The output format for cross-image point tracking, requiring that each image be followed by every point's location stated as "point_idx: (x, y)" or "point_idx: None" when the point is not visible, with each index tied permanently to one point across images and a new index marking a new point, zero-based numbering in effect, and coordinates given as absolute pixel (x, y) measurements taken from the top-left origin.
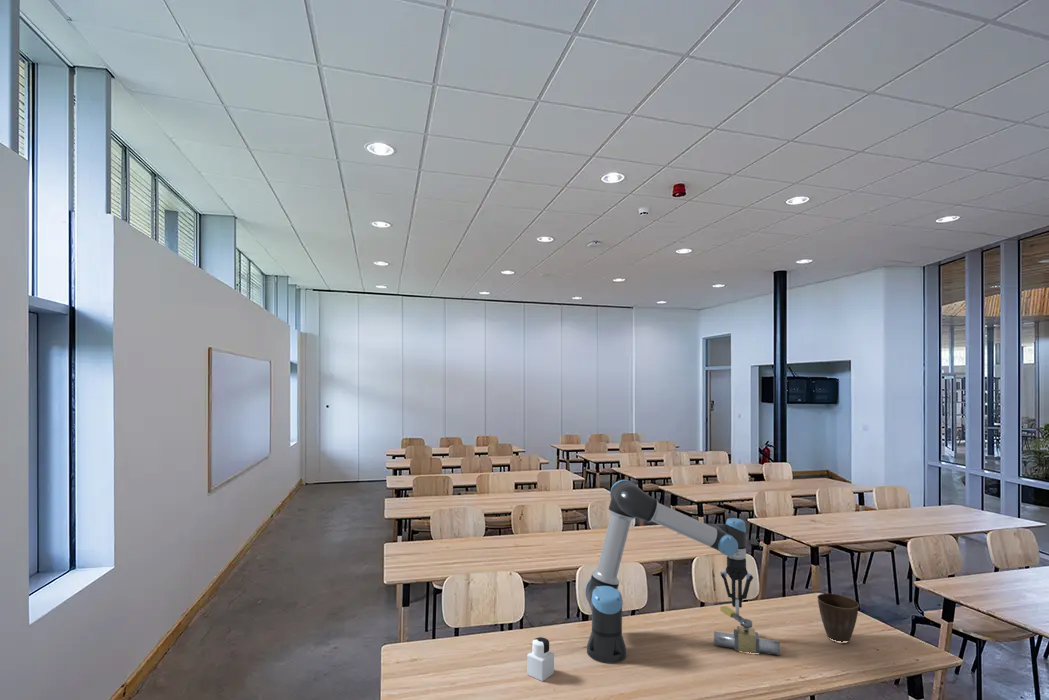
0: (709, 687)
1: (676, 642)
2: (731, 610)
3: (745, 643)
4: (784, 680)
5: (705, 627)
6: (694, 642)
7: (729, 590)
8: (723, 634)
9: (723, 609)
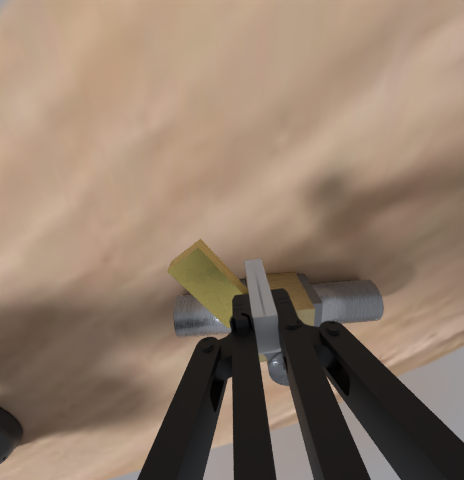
0: None
1: (85, 331)
2: (229, 294)
3: None
4: None
5: (131, 197)
6: (129, 313)
7: (214, 429)
8: (206, 333)
9: (187, 287)
